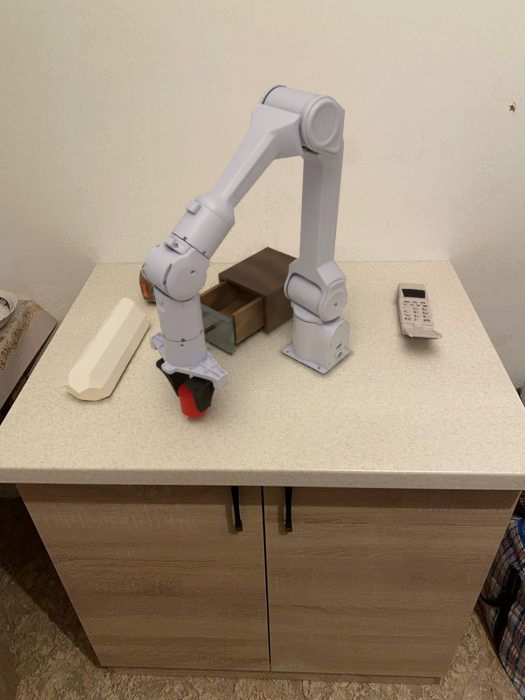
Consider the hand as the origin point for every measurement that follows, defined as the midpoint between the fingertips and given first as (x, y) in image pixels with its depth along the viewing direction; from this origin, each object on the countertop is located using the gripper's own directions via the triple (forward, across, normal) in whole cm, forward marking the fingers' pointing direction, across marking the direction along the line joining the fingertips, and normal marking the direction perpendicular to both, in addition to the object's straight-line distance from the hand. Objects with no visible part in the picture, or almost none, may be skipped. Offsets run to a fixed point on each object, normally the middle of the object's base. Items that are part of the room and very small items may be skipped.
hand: (193, 400), depth 77 cm
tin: (+4, -34, +21) cm, 40 cm away
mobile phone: (+4, +14, +45) cm, 47 cm away
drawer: (+3, -12, +18) cm, 22 cm away
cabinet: (+4, -12, +31) cm, 33 cm away
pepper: (+1, 0, 0) cm, 1 cm away
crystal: (+4, -22, 0) cm, 23 cm away
